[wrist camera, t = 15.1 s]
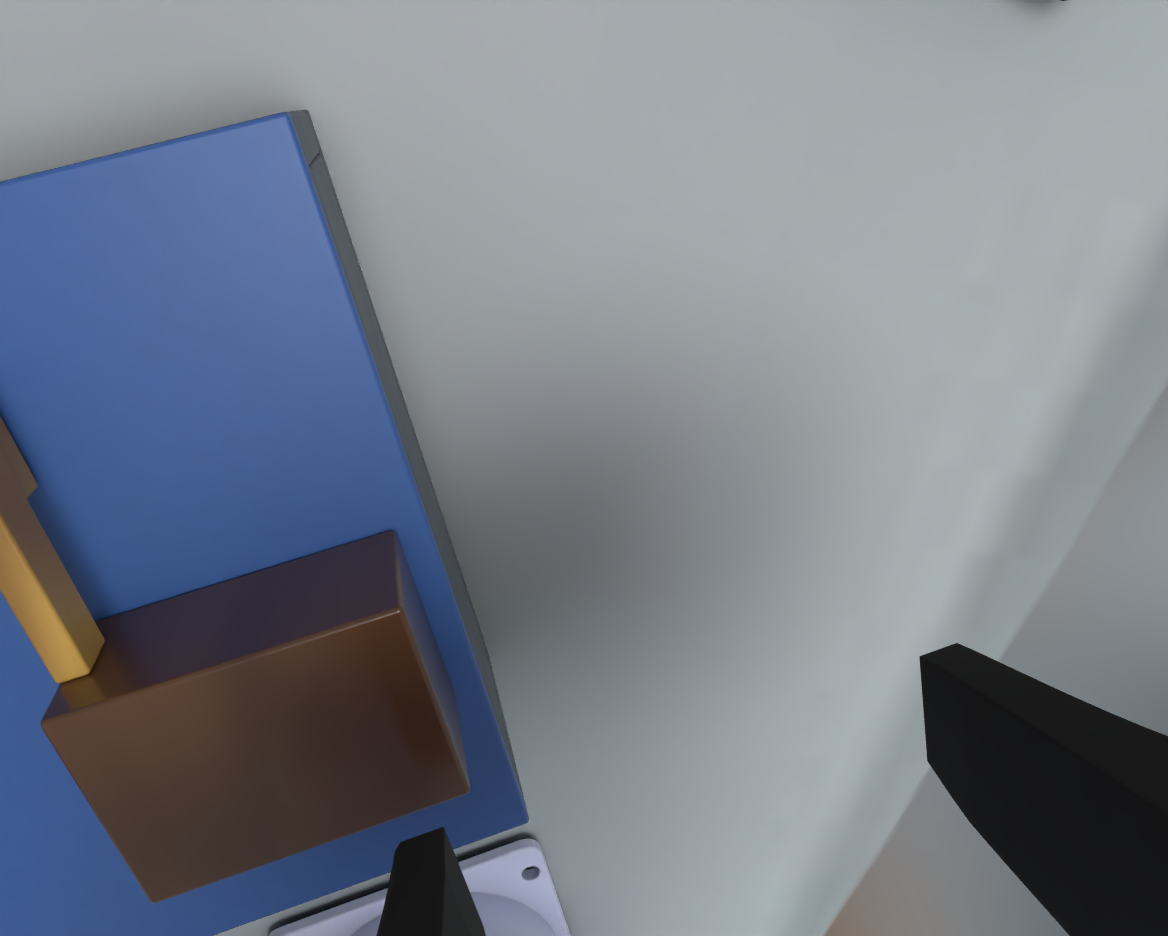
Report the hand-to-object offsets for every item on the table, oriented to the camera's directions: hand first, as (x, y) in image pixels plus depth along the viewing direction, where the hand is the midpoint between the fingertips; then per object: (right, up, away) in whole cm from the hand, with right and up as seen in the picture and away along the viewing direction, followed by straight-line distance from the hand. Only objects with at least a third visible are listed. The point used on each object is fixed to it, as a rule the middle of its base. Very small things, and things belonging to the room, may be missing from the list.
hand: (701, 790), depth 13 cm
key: (-9, +2, 0) cm, 10 cm away
